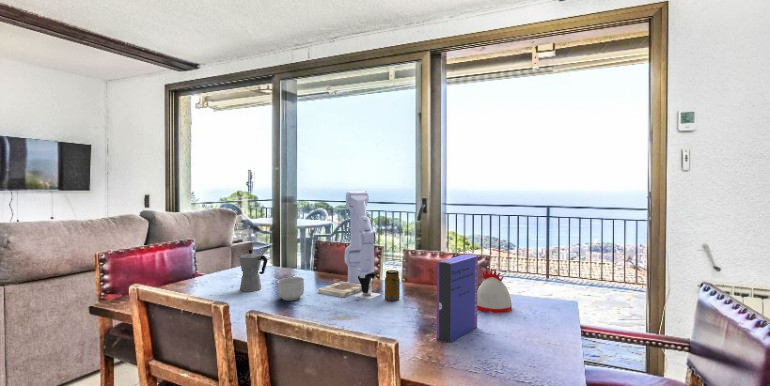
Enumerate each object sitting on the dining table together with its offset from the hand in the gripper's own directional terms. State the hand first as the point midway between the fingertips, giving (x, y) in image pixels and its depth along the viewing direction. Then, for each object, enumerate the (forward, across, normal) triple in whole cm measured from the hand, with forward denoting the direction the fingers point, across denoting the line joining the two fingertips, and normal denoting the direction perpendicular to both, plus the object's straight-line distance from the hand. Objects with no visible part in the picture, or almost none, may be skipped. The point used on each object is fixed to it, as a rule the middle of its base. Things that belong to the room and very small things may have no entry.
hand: (366, 291), depth 175 cm
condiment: (+2, +4, +12) cm, 13 cm away
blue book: (+2, +35, +40) cm, 53 cm away
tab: (+2, 0, 0) cm, 2 cm away
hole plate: (+2, -4, -12) cm, 13 cm away
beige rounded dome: (+2, +4, +52) cm, 52 cm away
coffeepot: (+2, +2, -52) cm, 53 cm away
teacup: (+2, +10, -30) cm, 32 cm away
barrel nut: (+2, 0, 0) cm, 2 cm away
